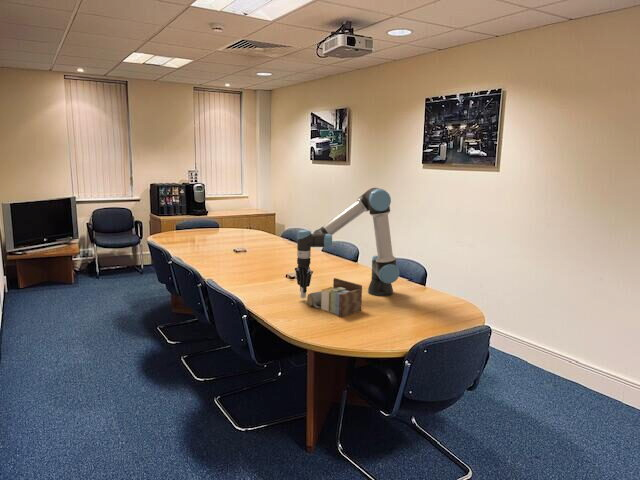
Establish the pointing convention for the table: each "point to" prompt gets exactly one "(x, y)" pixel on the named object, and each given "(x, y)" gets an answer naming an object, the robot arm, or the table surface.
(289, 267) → the table surface
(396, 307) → the table surface
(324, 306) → the ochre book
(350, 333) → the table surface
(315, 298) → the ceramic mug
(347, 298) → the brown wooden box
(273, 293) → the table surface
